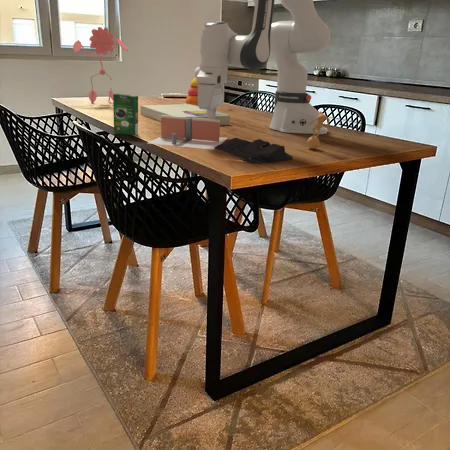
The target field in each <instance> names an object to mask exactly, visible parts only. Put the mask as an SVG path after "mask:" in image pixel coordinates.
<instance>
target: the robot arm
mask: <svg viewBox="0 0 450 450" xmlns="http://www.w3.org/2000/svg"><path fill="white" fill-rule="evenodd" d="M253 2H254V11H253V18H252V28H251V31H250V33H249V34H248V35H246V34H245V35H242V34H238V33H237V32H235V31H233V29H231V28H230V26H229V23H228V22H226V21H220V20H219V21H210V22H207V23H205V24H204V25H203V27H202V30H201V31H202V32H201V37H200V50H199V52H200V53H199V54H200V62H199V67H200V71H199V74H198V75H197V78H196V77H195V78H196V82H197V83H199V84H198V106H199V108H200V109H206V110H207V116H208V117H207V119H215V114H216V112H217V108H218V107H219V106H222V105H224V101H225V84H227V82H228V69H229V68H228V67H232V68H233V67H234V68H244V69H246V70H247V69H248V70H251V71H259V70H261V69H262V68H263V67H265V65H266V64H267V63H268V61H269V59H270V55H271V54H272V55H273V57H274V59H275V62H276V67H277V78H276V79H277V81H276V83H277V84H276V85H277V86H276V90H275V93H274V101H273V102H274V103H273V105H274V110H273V114H272V117H271V122H270V125H269V129H271V130H274V131H279V132H282V133H285V134H286V133H289V134H307V135H308V134H309V135H314V132H313V128H314V126H315V125H316V124H318V119H317V120H315V121H314V122H313V123H312V124H310V123H311V122H312V121H313V120H314V119H315V118H317V117H318V116H319V112H320V111H318V110H317V109H316V108H315V107H314V106H313V105H312V104H311V103H310V102H311V99H312V96H311V94H309V93H308V92H306V90H307V83H308V70H307V68H306V67H305V66H304V65H302V64H301V63H300V62H299V60H298V54H306V55H307V54H308V55H309V54H310V55H312V54H317V53H322V52H324V51H325V50H326V49H327V48H328V46H329V44H330V42H331V41H330V40H331V31H330V28H329V26H328V25H327V24H326V23H325V22H324V21H323V20H322V18H320V16H319V14H318V13H317V10H316V7H315V4H314V3H315V2H314V0H280V3H281V5H282V7H284V9H286V10H287V11H289V12H290V14H291V16H292V19H293V20H279V21H275V22H273V16H274V7H275V0H253ZM309 124H310V125H309ZM322 124H323V125H324V122H323V123H322ZM308 125H309V126H308ZM307 127H308V128H307ZM314 131H316V135H317V134H318V131H317V129H315V130H314ZM319 131H320V133H319V135H325V134H327V133H328V127H324V126H322V128H320V129H319Z"/></svg>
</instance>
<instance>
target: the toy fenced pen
mask: <svg viewBox="0 0 450 450" xmlns="http://www.w3.org/2000/svg"><path fill="white" fill-rule="evenodd" d="M227 139H228V137H221V136H220V137H219V142H217V141H206V140H195V139H192V140H186V138H185V139H184V138H177V134H172V137H162V136H161V135H160V136H159V137H157V138H155V139H153V140H150V141H149V142H147V144H149V145H161V146H168V147H169V146H170V147H171V146H172V147H182V148H189V149H190V148H191V149H200V150H201V149H204V150H212V151H213V150H216V149H215V147H216V146H218V145H220V144H223V143H225V142H226V140H227ZM228 140H229V139H228Z"/></svg>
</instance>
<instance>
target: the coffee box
mask: <svg viewBox="0 0 450 450" xmlns="http://www.w3.org/2000/svg"><path fill="white" fill-rule="evenodd" d="M112 101H113V102H112V103H113V104H112V105H113V134H114V135H116V134H118V135H119V134H120V135H128V136H130V135H131V136H137V135H138V134H139V95H131V94H121V93H114V94H113V100H112Z"/></svg>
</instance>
